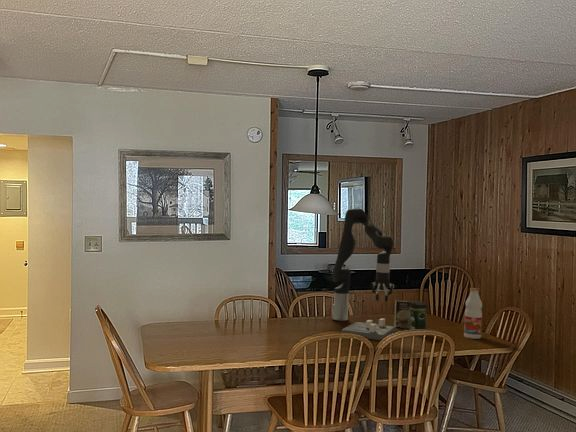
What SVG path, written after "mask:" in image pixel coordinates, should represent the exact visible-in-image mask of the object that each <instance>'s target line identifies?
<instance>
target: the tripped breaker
mask: <svg viewBox="0 0 576 432" xmlns="http://www.w3.org/2000/svg"><path fill="white" fill-rule="evenodd" d="M365 323H366V328H369V327H370V324H372V323H373V319H368V320H366V321H365Z"/></svg>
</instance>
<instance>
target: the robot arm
mask: <svg viewBox="0 0 576 432" xmlns="http://www.w3.org/2000/svg"><path fill="white" fill-rule="evenodd" d="M343 223H344V224H343V230H342V236H341V239H340V243H339V247H338V253H337V257H336V260H335V263H334V267H333V269H332V274H331V278H332V281H333V282H335V283H341V284H339V286H336V287H335V288H334V290H333V292H334V295H333V304H332V314H331V315H332V318H331V320H334V321H342V322H343V321H348V320H349V319H348V318H349V295H350V294H349V291H350V287H351V286H350V283H351V270H350V268H348V267H344V264H345V263H346V262H347V261H348V260H349V258H350V257H352V255H353V254H354V250H355V246H356V240H355V238H354V234H353V226H354V225H357V224H358V225H359V224H361V225H363V226H364V232H365V234H366V236H368V237H369V239H371V241H372V243H373V245H374V246H375V248H376V249H382V251H381V252H379V253H378V254H377V257H376V267H375V268H376V269H375V270H376V271H375V273H376V274H375V281H374V282H373V281H372V282H370V287H371V291H372V293H373V294H375V300H376V301H377V302H379V301H380V291H381V290H383V291H384V294H385V295H384V302H385V303H387V302H388V301H389V296H390V295H392V294H393V291H394V289H395V284H393V283H391V282H390V272H391V269H390V268H391V267H390V260H391V259H390V258H391V255H392V254H391V253H392V250H393V247H394V239H393V238H392V237H391V236H383V232H382V231H381V230H380V229H379V228H378V227H377V226H376V225H375V224H374V223H373V222H372V220H371V219H370V217H369V215H367V213H366V212H365V211H364V210H363V209H362V208H349V209H347V210H346V212H345V215H344V222H343ZM375 286H377V288H376V287H375ZM388 288H389V289H388Z"/></svg>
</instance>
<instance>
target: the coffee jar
mask: <svg viewBox="0 0 576 432" xmlns="http://www.w3.org/2000/svg"><path fill="white" fill-rule="evenodd" d="M426 314H427V302H425V301H422V300H421V301H419V300H418V301H411V303H410V324H409V328H408V331H409V330H411V329H426V330H427V325H426V322H427V321H426Z"/></svg>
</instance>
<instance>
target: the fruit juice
mask: <svg viewBox="0 0 576 432" xmlns="http://www.w3.org/2000/svg"><path fill="white" fill-rule="evenodd" d="M479 291H480V288H478V287H477V288H476V287H470V288H469V295H468V297H467V299H466V300H465V311H464V326H463V327H464V329H463V337H465V338H467V339H474V340H477V339H478V340H480V339H481V338H482V328H483V327H482V323H483V312H482V308H483V302H482V300H481V297H480V294H479Z"/></svg>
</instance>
